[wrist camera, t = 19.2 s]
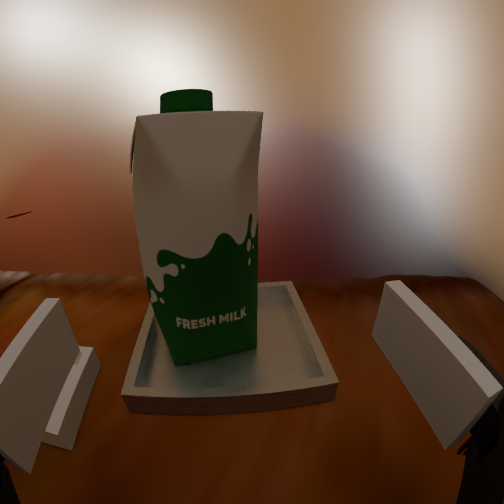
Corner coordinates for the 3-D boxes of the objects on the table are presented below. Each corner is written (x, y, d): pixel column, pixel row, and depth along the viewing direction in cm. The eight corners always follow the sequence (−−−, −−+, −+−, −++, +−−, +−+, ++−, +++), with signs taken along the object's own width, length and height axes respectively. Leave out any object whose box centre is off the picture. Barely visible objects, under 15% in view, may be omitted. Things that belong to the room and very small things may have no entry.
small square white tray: (-8, 421, 11) (-22, 405, 10) (28, 355, 19) (19, 339, 18) (72, 450, 12) (57, 434, 11) (101, 365, 20) (93, 347, 19)
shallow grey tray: (129, 412, 16) (120, 394, 15) (158, 304, 30) (155, 287, 29) (333, 400, 18) (339, 382, 17) (290, 297, 31) (291, 280, 30)
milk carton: (236, 298, 30) (232, 97, 22) (272, 352, 22) (278, 77, 14) (154, 313, 27) (130, 102, 19) (165, 377, 19) (123, 78, 11)
